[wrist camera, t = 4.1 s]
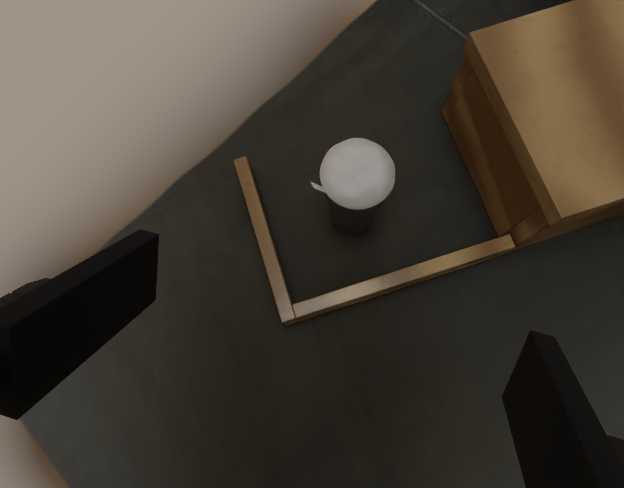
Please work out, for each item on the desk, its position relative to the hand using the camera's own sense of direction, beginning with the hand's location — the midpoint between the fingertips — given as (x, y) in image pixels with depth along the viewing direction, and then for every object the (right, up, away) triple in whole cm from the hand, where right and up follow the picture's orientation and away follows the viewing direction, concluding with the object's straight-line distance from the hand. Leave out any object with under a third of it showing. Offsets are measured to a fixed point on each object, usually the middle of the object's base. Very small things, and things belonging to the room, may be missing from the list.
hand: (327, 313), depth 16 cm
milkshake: (+2, +4, +20) cm, 20 cm away
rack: (+10, +7, +20) cm, 23 cm away
